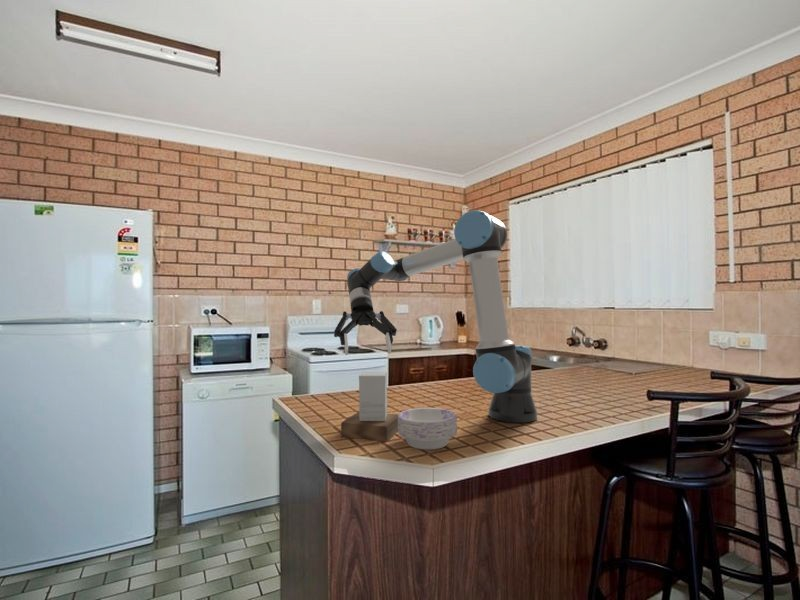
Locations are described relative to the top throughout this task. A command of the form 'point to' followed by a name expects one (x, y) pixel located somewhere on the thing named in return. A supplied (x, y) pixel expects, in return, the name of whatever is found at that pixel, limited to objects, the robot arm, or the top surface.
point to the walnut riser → (370, 428)
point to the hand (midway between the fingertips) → (368, 351)
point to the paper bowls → (427, 427)
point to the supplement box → (373, 396)
